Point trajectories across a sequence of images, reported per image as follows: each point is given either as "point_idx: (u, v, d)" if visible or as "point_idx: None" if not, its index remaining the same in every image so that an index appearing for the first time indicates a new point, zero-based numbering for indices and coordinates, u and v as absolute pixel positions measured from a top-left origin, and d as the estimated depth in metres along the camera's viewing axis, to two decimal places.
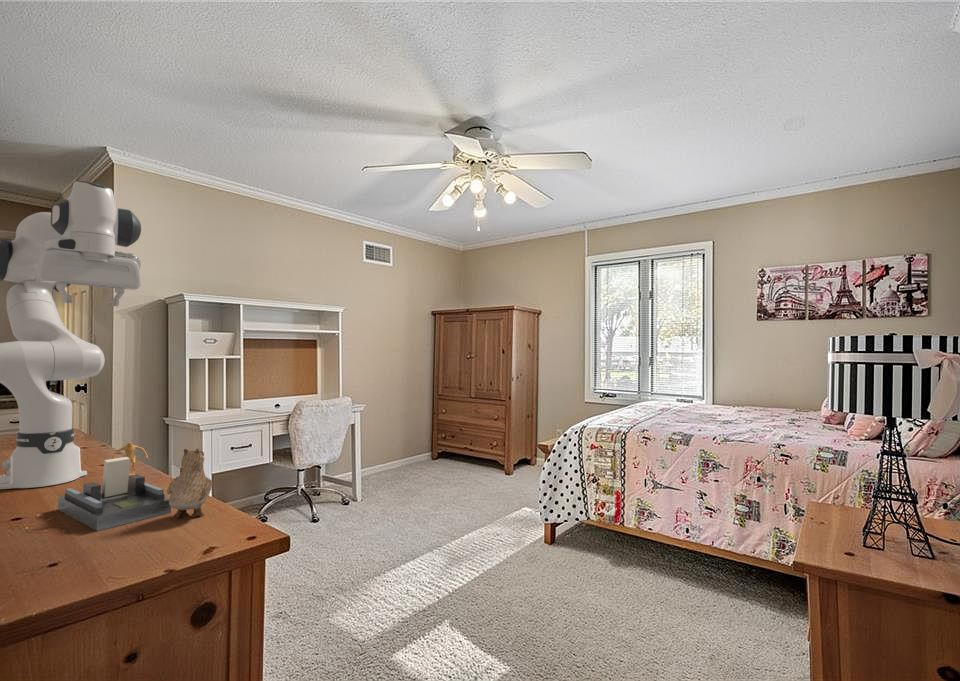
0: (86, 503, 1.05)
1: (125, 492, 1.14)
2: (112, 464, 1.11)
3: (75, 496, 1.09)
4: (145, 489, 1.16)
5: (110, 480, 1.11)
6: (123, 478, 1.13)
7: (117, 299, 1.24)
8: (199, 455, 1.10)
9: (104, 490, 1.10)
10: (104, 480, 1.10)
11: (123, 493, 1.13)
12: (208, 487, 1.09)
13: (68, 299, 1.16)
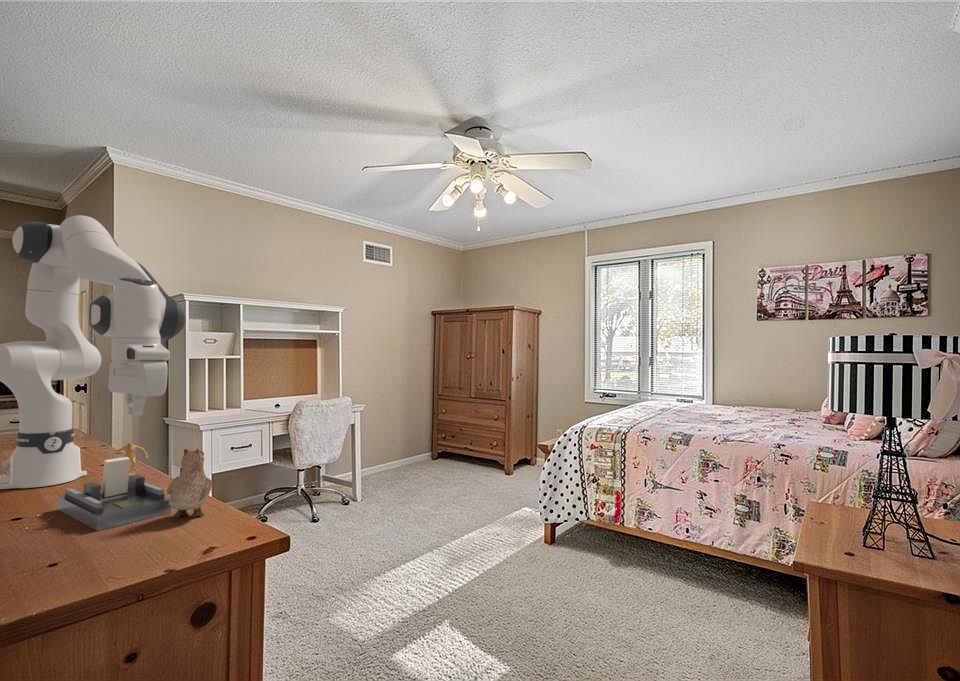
0: (86, 503, 1.05)
1: (125, 492, 1.14)
2: (112, 464, 1.11)
3: (75, 496, 1.09)
4: (145, 489, 1.16)
5: (110, 480, 1.11)
6: (123, 478, 1.13)
7: None
8: (199, 455, 1.10)
9: (104, 490, 1.10)
10: (104, 480, 1.10)
11: (123, 493, 1.13)
12: (208, 487, 1.09)
13: None
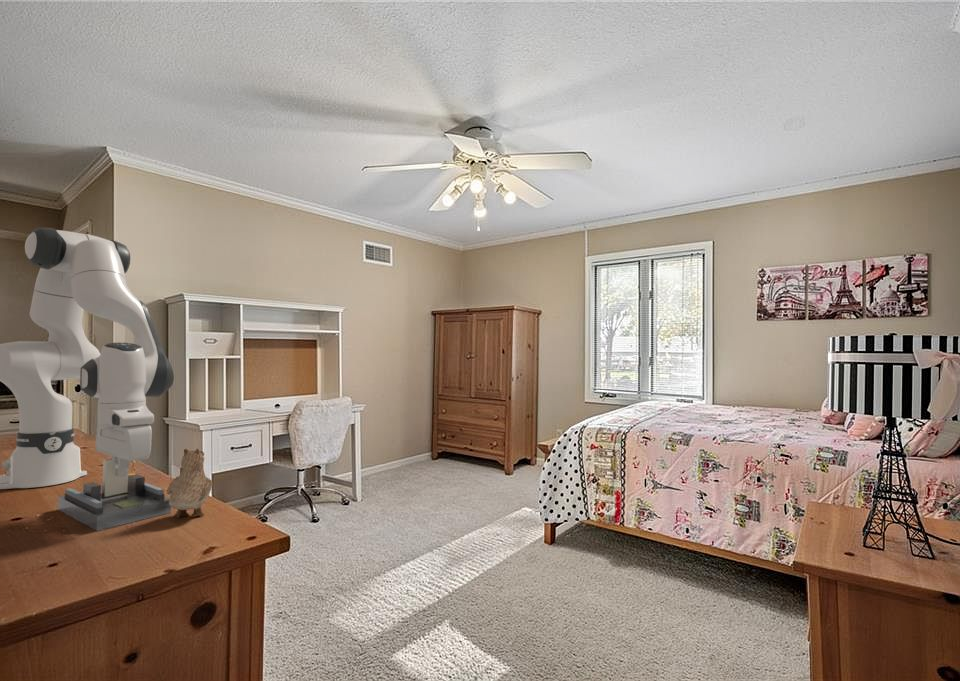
0: (86, 503, 1.05)
1: (125, 492, 1.14)
2: (111, 463, 1.11)
3: (75, 496, 1.09)
4: (145, 489, 1.16)
5: (110, 479, 1.11)
6: (123, 478, 1.13)
7: None
8: (199, 455, 1.10)
9: (104, 490, 1.10)
10: (104, 479, 1.10)
11: (123, 493, 1.13)
12: (207, 487, 1.09)
13: None
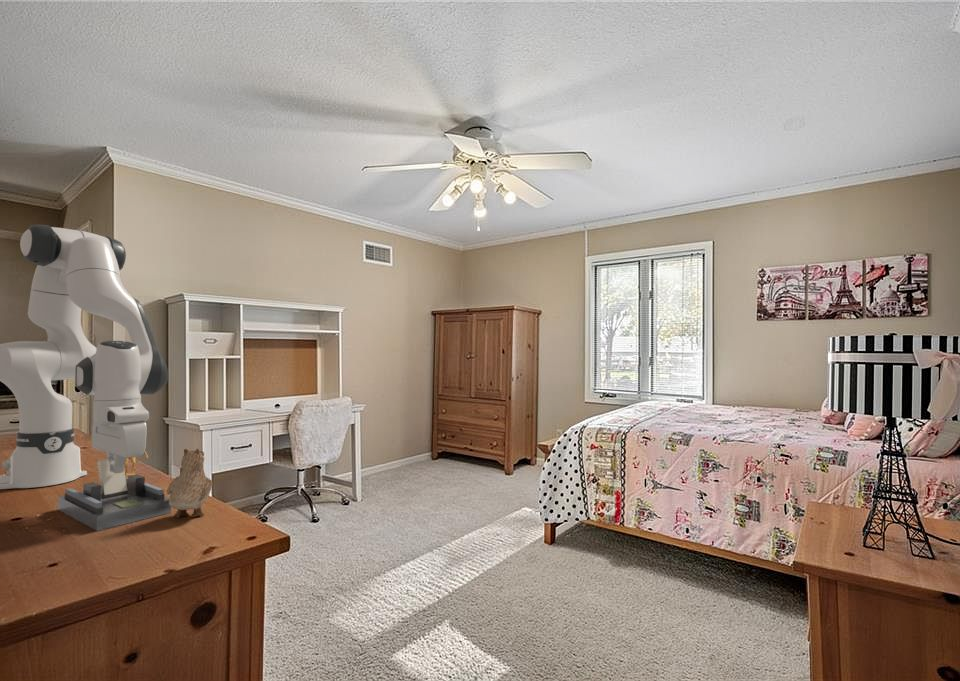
0: (86, 503, 1.05)
1: (125, 490, 1.14)
2: (105, 462, 1.13)
3: (75, 496, 1.09)
4: (145, 489, 1.16)
5: (107, 478, 1.12)
6: (120, 476, 1.14)
7: None
8: (199, 455, 1.10)
9: (103, 489, 1.11)
10: (101, 479, 1.11)
11: (123, 491, 1.13)
12: (207, 487, 1.09)
13: None
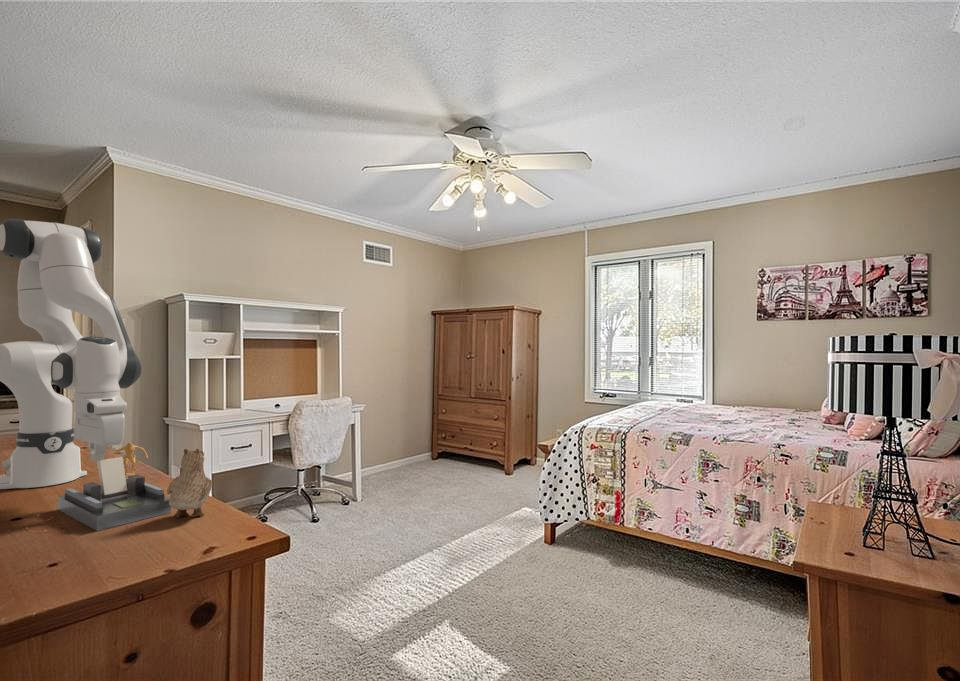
0: (86, 503, 1.05)
1: (125, 490, 1.14)
2: (105, 462, 1.13)
3: (75, 496, 1.09)
4: (145, 489, 1.16)
5: (106, 478, 1.12)
6: (120, 476, 1.14)
7: None
8: (199, 455, 1.10)
9: (103, 489, 1.11)
10: (101, 479, 1.11)
11: (123, 491, 1.13)
12: (207, 487, 1.09)
13: None
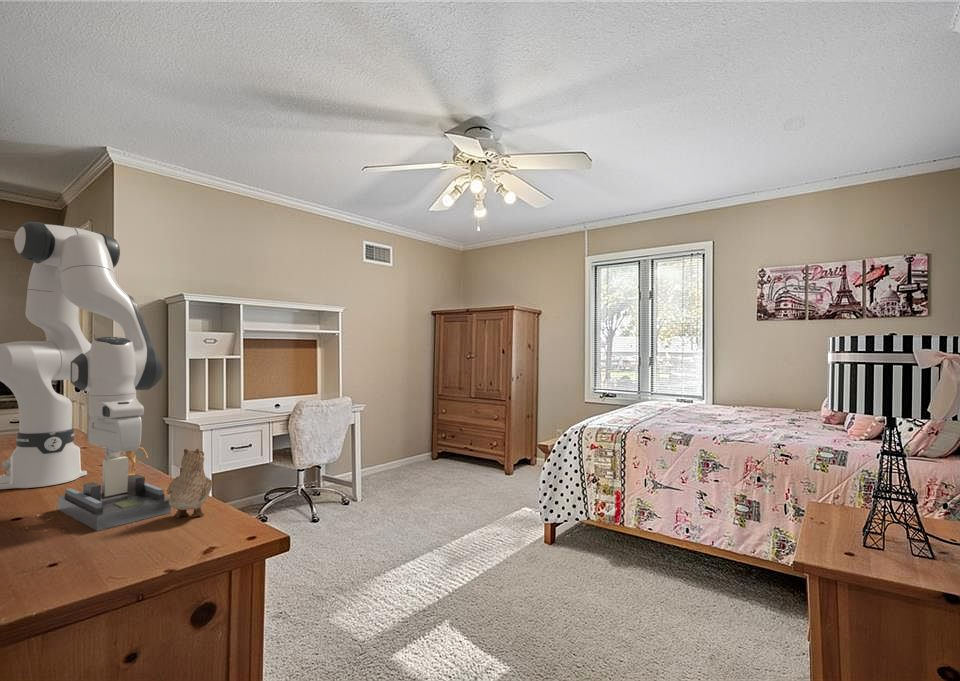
0: (86, 503, 1.05)
1: (125, 492, 1.14)
2: (110, 463, 1.11)
3: (75, 496, 1.09)
4: (145, 489, 1.16)
5: (109, 479, 1.11)
6: (123, 477, 1.13)
7: None
8: (199, 455, 1.10)
9: (104, 490, 1.10)
10: (104, 479, 1.11)
11: (123, 493, 1.13)
12: (208, 487, 1.09)
13: None
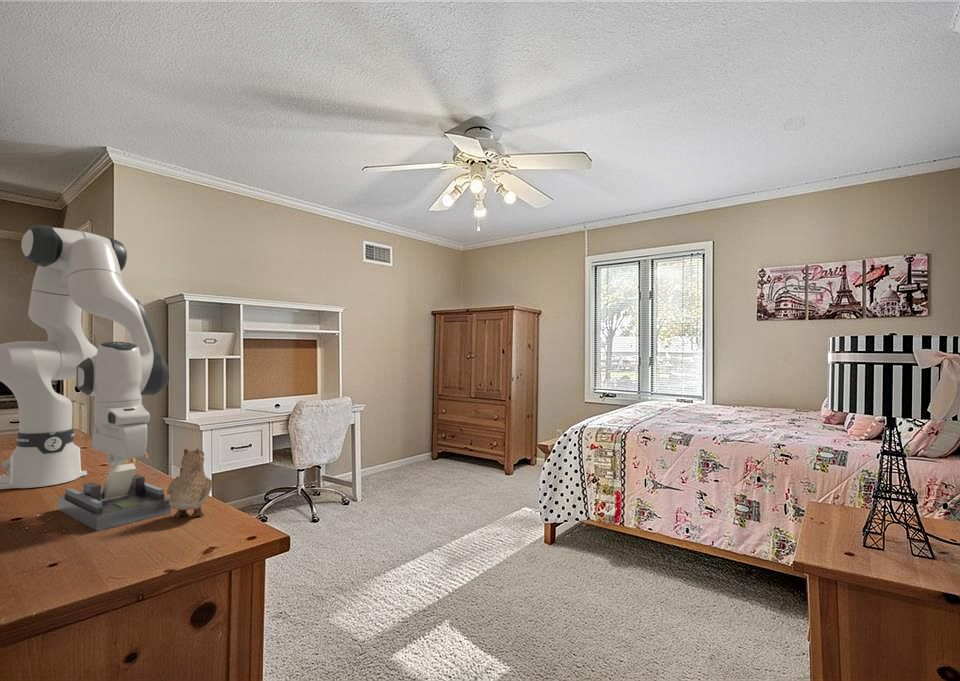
0: (86, 503, 1.05)
1: None
2: (117, 474, 1.09)
3: (75, 496, 1.09)
4: (145, 489, 1.16)
5: (112, 486, 1.10)
6: (126, 483, 1.12)
7: None
8: (199, 455, 1.10)
9: (105, 492, 1.10)
10: (107, 484, 1.09)
11: (123, 494, 1.13)
12: (207, 487, 1.09)
13: None
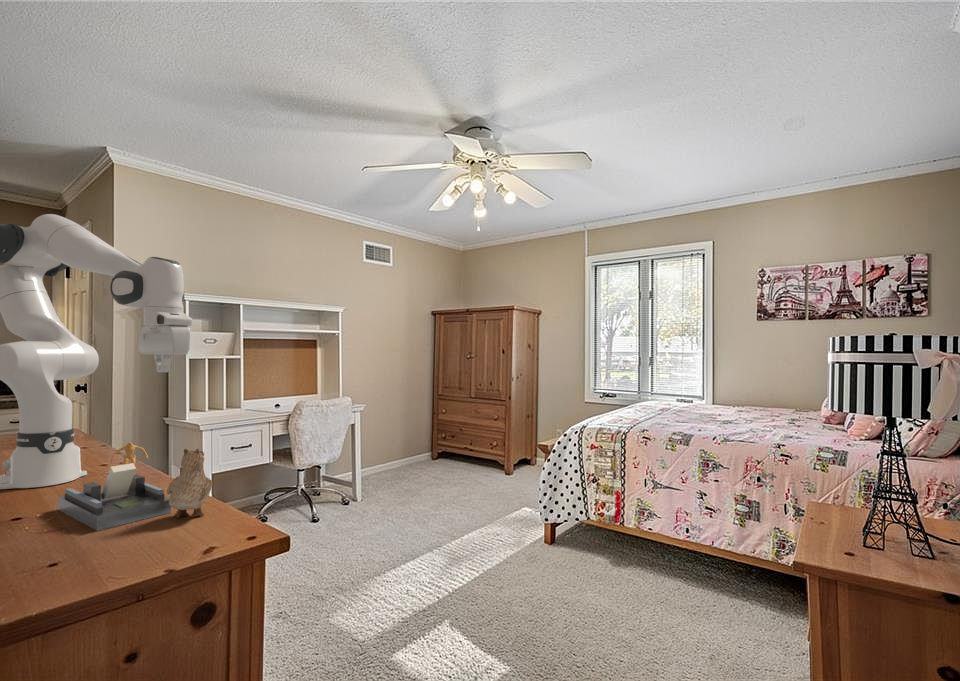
0: (86, 503, 1.05)
1: None
2: (117, 474, 1.09)
3: (75, 496, 1.09)
4: (145, 489, 1.16)
5: (112, 486, 1.10)
6: (126, 483, 1.12)
7: None
8: (199, 455, 1.10)
9: (105, 492, 1.10)
10: (107, 484, 1.09)
11: (123, 494, 1.13)
12: (207, 487, 1.09)
13: None
